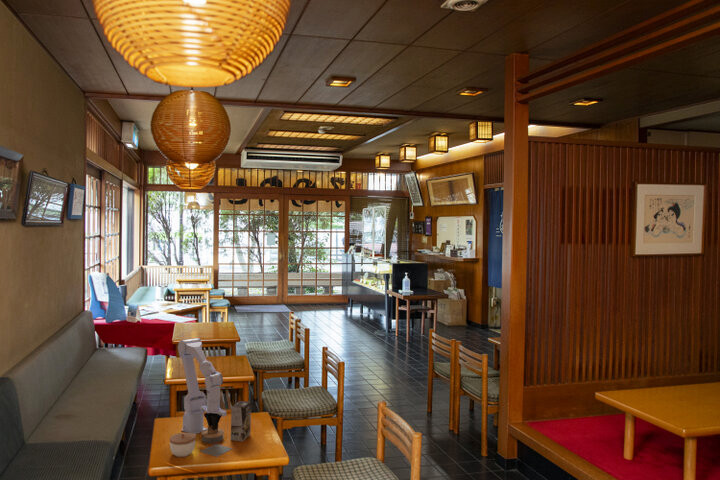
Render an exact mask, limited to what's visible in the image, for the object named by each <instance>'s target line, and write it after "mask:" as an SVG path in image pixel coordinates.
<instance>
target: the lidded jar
mask: <svg viewBox="0 0 720 480" xmlns="http://www.w3.org/2000/svg"><path fill="white" fill-rule="evenodd" d="M196 438H197V437H196V434H192V433H188V432H180V433H179V432H178V433H174V434H173V435H171V436H170V437H169V447H170V448H169V449H170V451H171V453H172V454H173V455H174V456H175V457H177V458H183V457H187V456H189V455H190V454H192V452H193V451H194V449H195V446H196Z"/></svg>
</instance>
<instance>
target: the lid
mask: <svg viewBox="0 0 720 480" xmlns="http://www.w3.org/2000/svg"><path fill="white" fill-rule="evenodd" d="M222 435H223V436H224V435H225V431H224V430H223V429H222V428H219V425H218V426H217V429H215V430H213V428H212V425H211V426H207V430H204V431H203V432H201V437H202V436H203V437H206V438H216V437H220V436H222Z"/></svg>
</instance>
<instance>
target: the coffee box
mask: <svg viewBox="0 0 720 480" xmlns="http://www.w3.org/2000/svg"><path fill="white" fill-rule="evenodd" d="M230 417H231V419H230V441H235V442H236V441H237V442H244V441H245V440H246V439H247V438H248V437H250V436H251V431H252V430H251V427H252V426H251V425H252V424H251V423H252V402H251V401H245V400H244V401H243V400H242V401H241V400H239V401H237V402H236V403H234V404H233V405H232V406H231V416H230Z"/></svg>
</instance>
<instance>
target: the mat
mask: <svg viewBox="0 0 720 480" xmlns="http://www.w3.org/2000/svg"><path fill="white" fill-rule="evenodd" d="M233 449H234V448H232V447H229V446H225V445H222V444H219V443H213V445H210V446H209V447H205V448H204V449H203V450H200V451H199V452H200V453H203V454H207V455H211V456H213V457H216V458H218V457H220V456H222V455H224V454H225V453H227V452H229V451H231V450H233Z"/></svg>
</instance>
